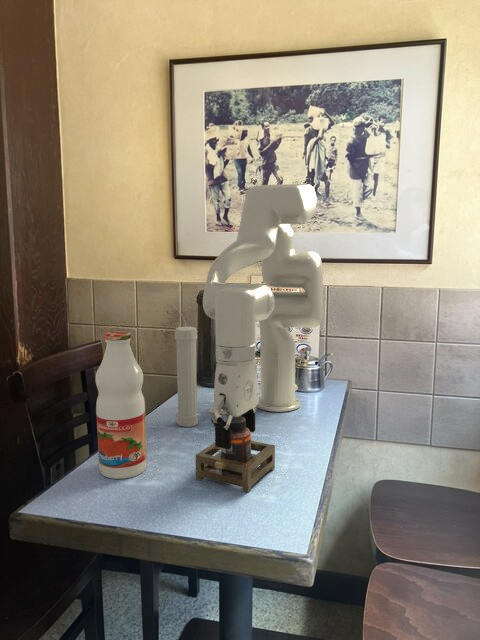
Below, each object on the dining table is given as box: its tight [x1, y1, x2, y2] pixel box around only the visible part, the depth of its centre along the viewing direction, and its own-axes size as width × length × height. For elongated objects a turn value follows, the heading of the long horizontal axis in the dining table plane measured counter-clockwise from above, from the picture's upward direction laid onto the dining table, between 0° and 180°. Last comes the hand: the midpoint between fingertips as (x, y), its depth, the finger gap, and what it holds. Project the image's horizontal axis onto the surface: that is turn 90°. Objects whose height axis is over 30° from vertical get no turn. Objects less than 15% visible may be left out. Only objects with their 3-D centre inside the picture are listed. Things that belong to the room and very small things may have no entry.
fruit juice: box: [95, 330, 148, 480], centre depth 104 cm, size 9×9×28 cm
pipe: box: [171, 304, 200, 428], centre depth 130 cm, size 6×6×30 cm
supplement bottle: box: [220, 416, 252, 477], centre depth 103 cm, size 6×6×11 cm
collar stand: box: [195, 440, 276, 494], centre depth 103 cm, size 12×11×5 cm
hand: (235, 438), depth 103 cm, fingers open, 9 cm apart
